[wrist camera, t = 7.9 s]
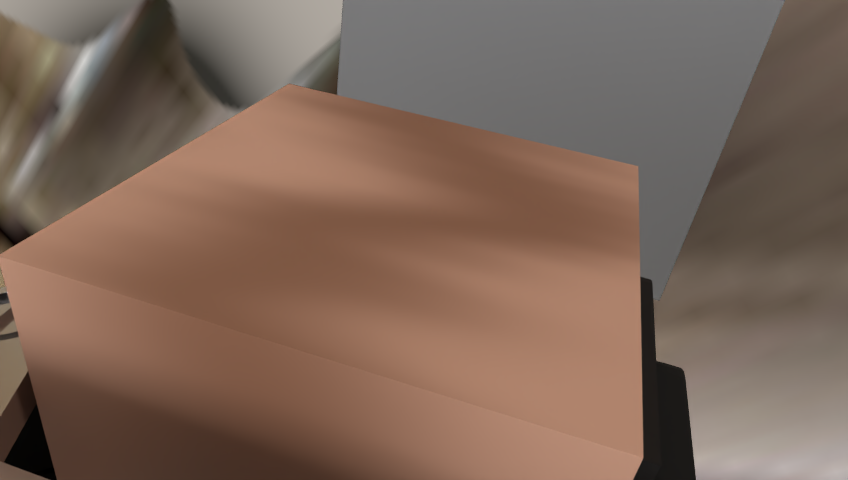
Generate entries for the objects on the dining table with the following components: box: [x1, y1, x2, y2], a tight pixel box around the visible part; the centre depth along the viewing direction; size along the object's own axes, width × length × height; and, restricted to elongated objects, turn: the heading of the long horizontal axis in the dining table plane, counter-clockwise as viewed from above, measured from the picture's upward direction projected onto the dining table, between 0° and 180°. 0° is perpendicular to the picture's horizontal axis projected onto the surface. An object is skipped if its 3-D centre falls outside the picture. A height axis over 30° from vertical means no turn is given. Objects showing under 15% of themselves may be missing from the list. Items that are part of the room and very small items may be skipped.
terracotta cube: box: [0, 84, 643, 480], centre depth 9 cm, size 6×6×6 cm
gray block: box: [337, 0, 785, 300], centre depth 24 cm, size 14×14×4 cm
